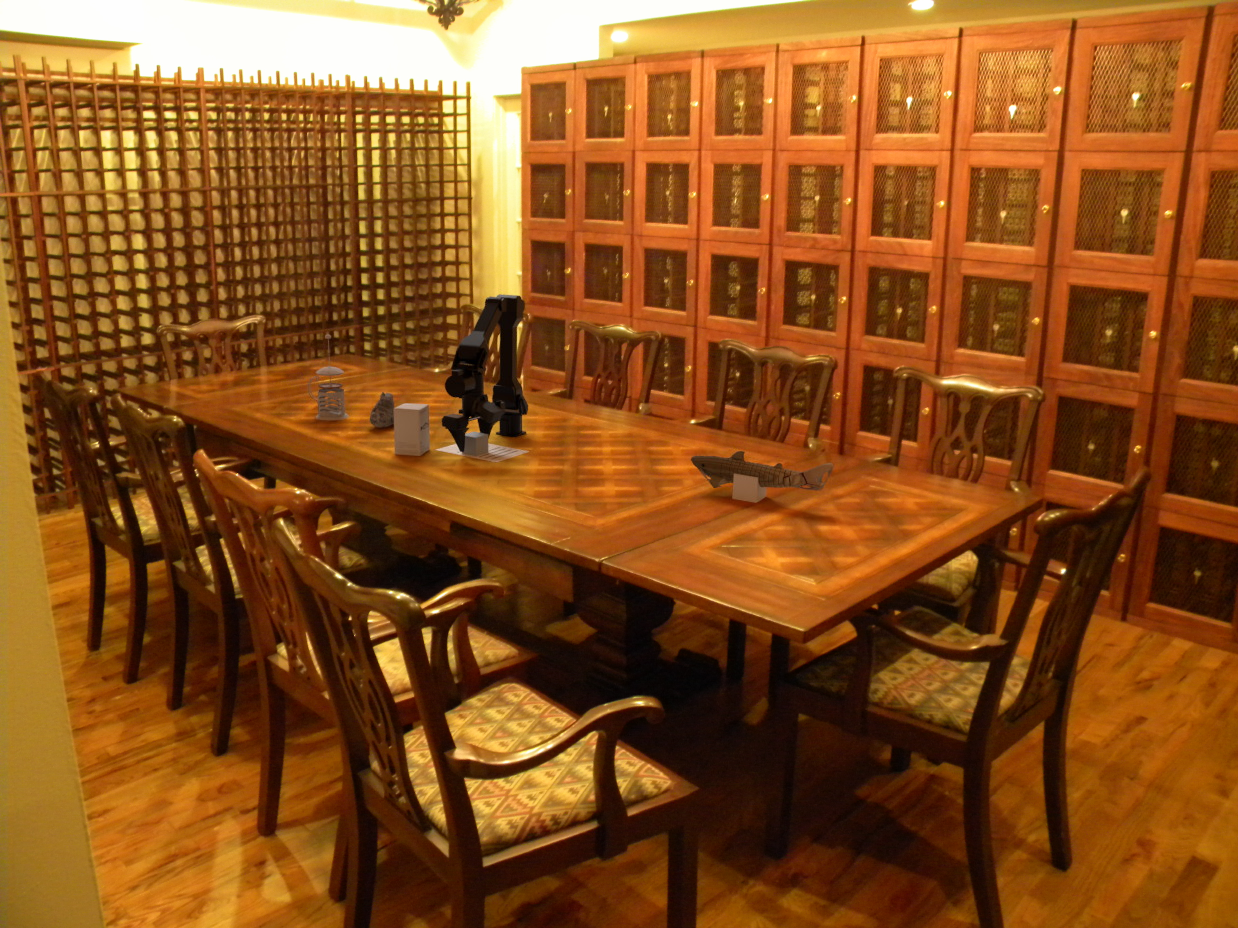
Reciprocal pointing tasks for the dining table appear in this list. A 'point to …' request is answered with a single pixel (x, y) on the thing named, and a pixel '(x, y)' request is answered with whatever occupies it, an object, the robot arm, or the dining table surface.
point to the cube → (476, 443)
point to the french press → (330, 394)
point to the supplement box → (411, 429)
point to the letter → (493, 455)
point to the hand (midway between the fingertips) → (473, 448)
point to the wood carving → (756, 475)
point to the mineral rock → (383, 411)
